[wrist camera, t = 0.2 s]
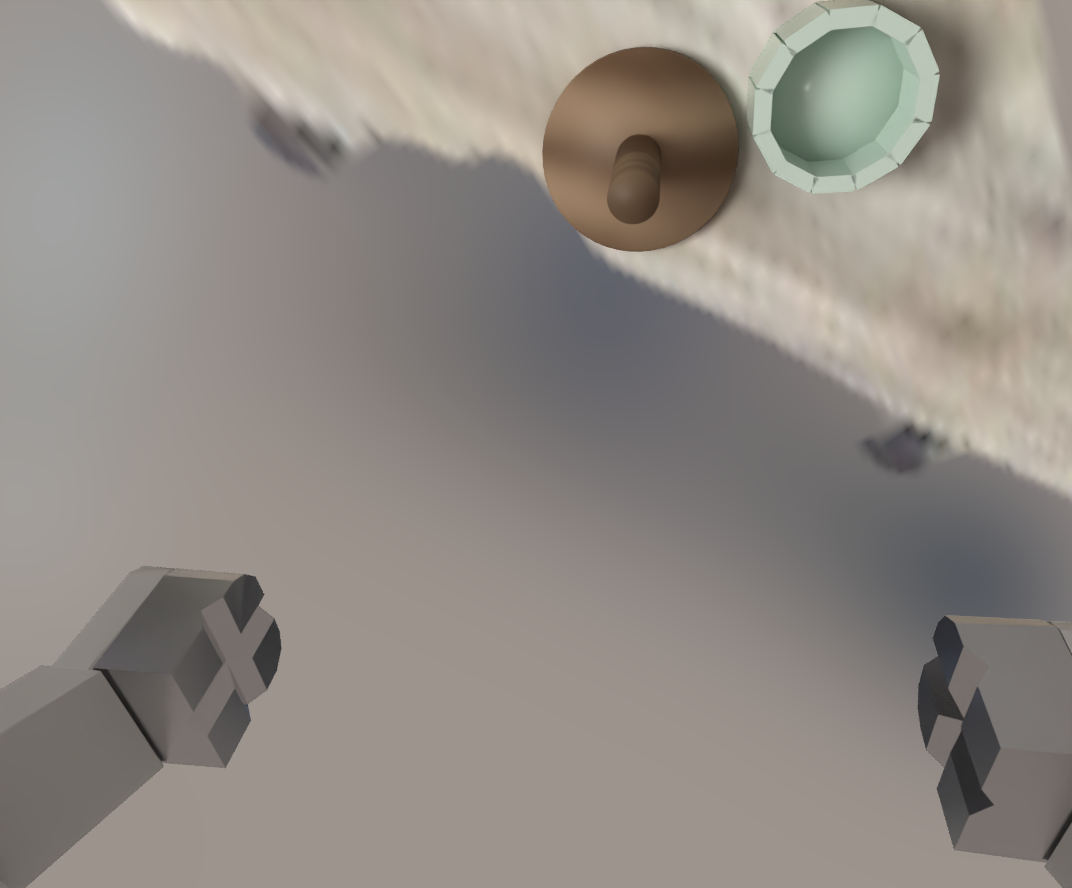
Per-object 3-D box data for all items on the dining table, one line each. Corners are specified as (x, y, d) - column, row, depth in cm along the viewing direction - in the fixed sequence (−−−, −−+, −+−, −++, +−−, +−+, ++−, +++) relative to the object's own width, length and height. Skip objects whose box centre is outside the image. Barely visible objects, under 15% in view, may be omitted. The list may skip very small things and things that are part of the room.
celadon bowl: (752, 8, 46) (759, 16, 42) (930, -10, 44) (953, -3, 40) (743, 177, 51) (749, 197, 48) (901, 167, 49) (919, 187, 46)
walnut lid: (535, 56, 49) (508, 85, 41) (742, 36, 47) (757, 62, 39) (553, 249, 56) (533, 307, 48) (733, 241, 54) (744, 299, 46)
